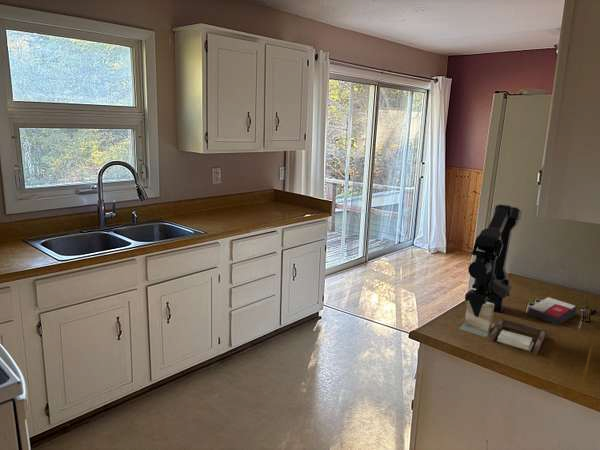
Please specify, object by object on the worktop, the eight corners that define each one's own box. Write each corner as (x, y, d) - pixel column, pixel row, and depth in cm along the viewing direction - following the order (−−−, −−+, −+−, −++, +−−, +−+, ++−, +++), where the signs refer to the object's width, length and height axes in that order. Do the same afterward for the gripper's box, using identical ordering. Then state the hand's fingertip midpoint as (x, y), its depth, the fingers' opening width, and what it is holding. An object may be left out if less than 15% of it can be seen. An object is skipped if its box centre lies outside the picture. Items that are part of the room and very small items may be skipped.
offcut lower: (501, 336, 155) (501, 333, 155) (533, 346, 149) (534, 342, 149) (496, 344, 149) (496, 340, 149) (529, 354, 144) (530, 350, 143)
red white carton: (528, 306, 171) (547, 295, 180) (527, 316, 172) (546, 305, 181) (559, 316, 162) (577, 304, 171) (558, 327, 164) (576, 315, 172)
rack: (500, 326, 161) (501, 318, 161) (544, 338, 153) (545, 329, 153) (489, 342, 149) (490, 333, 149) (536, 356, 142) (537, 347, 141)
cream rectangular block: (467, 321, 163) (470, 297, 161) (491, 327, 158) (494, 303, 156) (464, 325, 160) (467, 301, 158) (488, 332, 155) (491, 307, 153)
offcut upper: (501, 333, 154) (502, 329, 154) (531, 341, 149) (532, 337, 149) (497, 340, 149) (497, 336, 149) (528, 349, 144) (528, 345, 144)
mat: (469, 318, 166) (469, 317, 166) (495, 325, 161) (495, 324, 161) (458, 330, 157) (458, 328, 157) (486, 338, 152) (486, 336, 152)
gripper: (503, 284, 142) (496, 330, 146) (516, 268, 157) (510, 311, 161) (467, 276, 148) (461, 320, 152) (483, 262, 163) (477, 302, 167)
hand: (479, 313), depth 158 cm, fingers open, 6 cm apart
